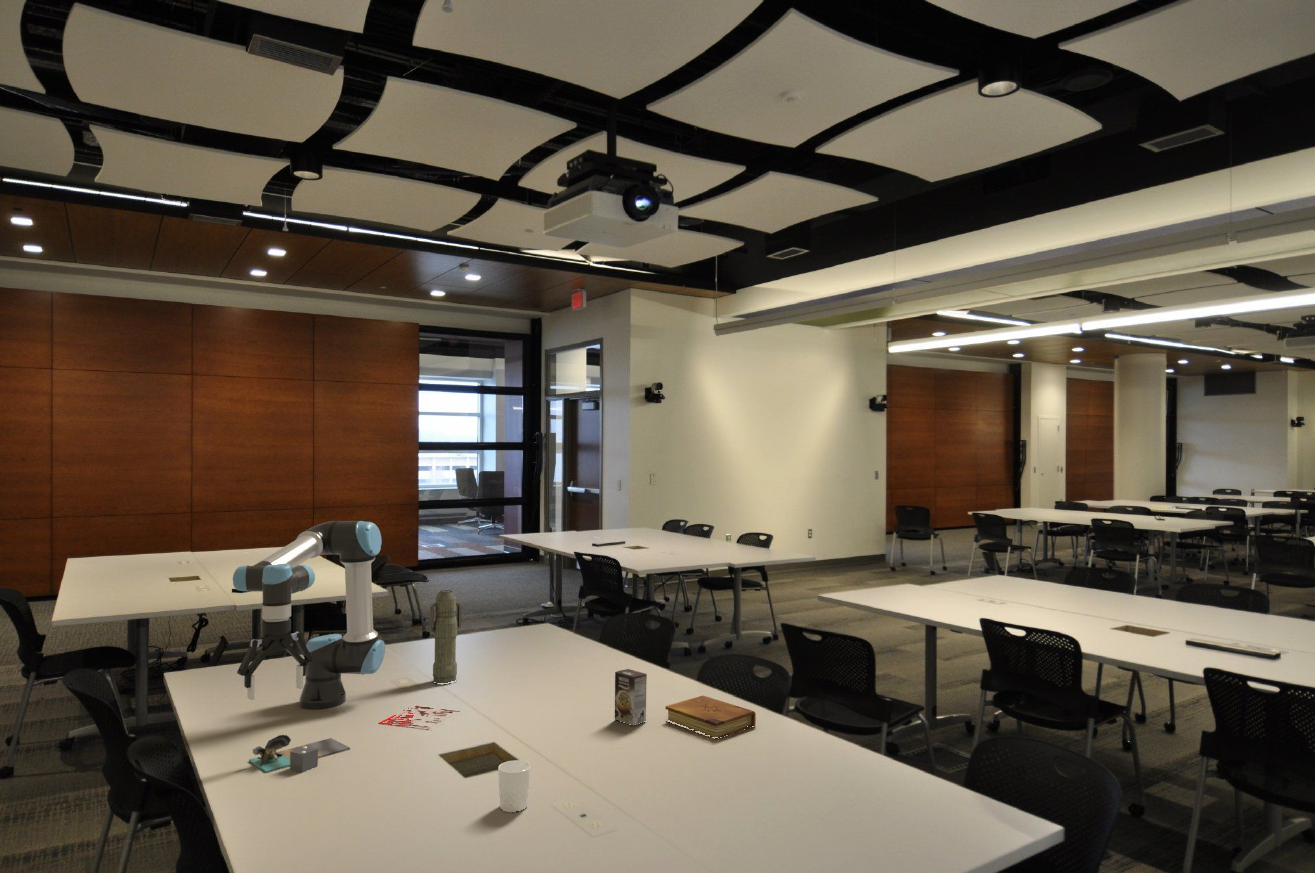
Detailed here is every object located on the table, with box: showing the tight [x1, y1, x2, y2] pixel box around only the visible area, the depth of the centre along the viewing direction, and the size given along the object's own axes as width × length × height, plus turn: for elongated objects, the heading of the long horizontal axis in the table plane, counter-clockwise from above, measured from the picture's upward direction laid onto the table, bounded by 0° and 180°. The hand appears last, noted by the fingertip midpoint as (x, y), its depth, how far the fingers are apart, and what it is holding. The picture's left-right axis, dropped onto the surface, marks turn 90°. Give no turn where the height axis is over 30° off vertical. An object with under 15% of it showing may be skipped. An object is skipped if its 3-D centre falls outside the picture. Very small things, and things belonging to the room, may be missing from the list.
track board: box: [248, 737, 351, 773], centre depth 230 cm, size 24×12×1 cm, turn 138°
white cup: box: [497, 759, 531, 813], centre depth 197 cm, size 8×8×10 cm
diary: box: [665, 695, 757, 740], centre depth 259 cm, size 23×19×6 cm
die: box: [289, 746, 319, 773], centre depth 220 cm, size 5×5×5 cm
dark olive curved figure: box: [252, 734, 292, 766], centre depth 224 cm, size 8×7×9 cm
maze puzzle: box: [378, 707, 415, 727], centre depth 264 cm, size 20×20×1 cm
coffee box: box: [614, 668, 648, 725], centre depth 261 cm, size 9×6×16 cm
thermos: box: [429, 589, 462, 683], centre depth 307 cm, size 9×12×35 cm
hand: (275, 693), depth 226 cm, fingers open, 13 cm apart
